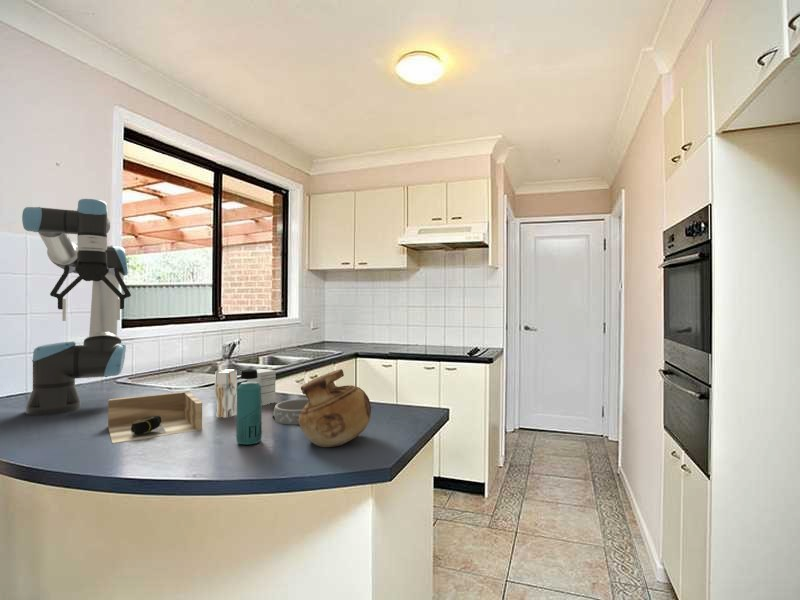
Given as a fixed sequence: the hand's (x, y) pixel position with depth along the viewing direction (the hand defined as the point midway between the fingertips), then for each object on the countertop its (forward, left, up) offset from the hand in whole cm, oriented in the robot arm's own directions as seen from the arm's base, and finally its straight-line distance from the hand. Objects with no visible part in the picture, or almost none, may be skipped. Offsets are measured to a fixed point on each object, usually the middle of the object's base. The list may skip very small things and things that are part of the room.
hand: (91, 320), depth 137 cm
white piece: (+14, +36, -32) cm, 50 cm away
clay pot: (+60, +52, -32) cm, 86 cm away
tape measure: (+21, +15, -31) cm, 40 cm away
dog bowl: (+31, +55, -32) cm, 71 cm away
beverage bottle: (+48, +33, -32) cm, 66 cm away
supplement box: (+4, +51, -32) cm, 60 cm away
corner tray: (+17, +15, -32) cm, 39 cm away
